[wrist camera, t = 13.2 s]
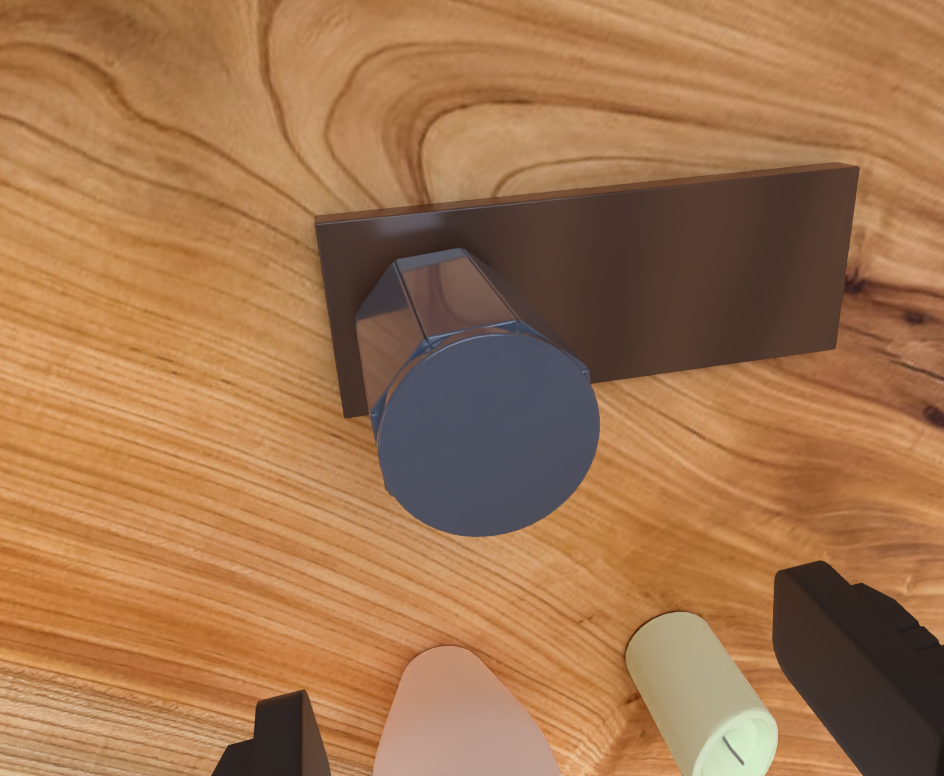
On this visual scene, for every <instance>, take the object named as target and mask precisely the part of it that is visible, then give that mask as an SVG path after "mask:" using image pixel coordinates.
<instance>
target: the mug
mask: <svg viewBox="0 0 944 776" xmlns="http://www.w3.org/2000/svg"><path fill="white" fill-rule="evenodd" d="M372 776H562V775H561V773H560V770H559V767H558V765H557V762H556V759H555V757H554V754H553V752H552V750H551V748H550V746H549V744H548V742H547V740H546V738H545V736H544V734H543V732H542V731H541V729H540V728H539V726H538V725H537V723H536V722H535V720H534V719H533V717H532V716H531V715H530V714H529V712H528V711H527V710H526V709H525V707H524V706H523V705H522V704H521V703H520V702H519V701H518V699H517V698H516V697H515V696H514V695H513V694H512V693H511V692H510V691H509V690H508V689H507V688H506V687H505V686H504V684H503V683H502V682H501V681H500V680H499V679H498V678H497V677H496V676H495V675H494V674H493V673H492V672H491V671H490V670H489V669H488V668H487V666H486V665H485V664H484V663H483V662H482V661H481V660H480V659H479V658H478V657H477V656H476V655H475V654H474V653H472V652H471V651H469V650H467V649H465V648H462V647H457V646H440V647H435V648H432V649H429V650H427V651H425V652H423V653H421V654H419V655H418V656H417V657H415V658H414V659H413V660H412V661H411V662H410V663H409V664H408V666H407V667H406V669H405V670H404V672H403V675H402V678H401V680H400V683H399V686H398V689H397V692H396V695H395V698H394V701H393V704H392V707H391V710H390V712H389V715H388V718H387V721H386V724H385V727H384V730H383V733H382V736H381V739H380V743H379V746H378V750H377V754H376V758H375V762H374V767H373V774H372Z"/></svg>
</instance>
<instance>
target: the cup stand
mask: <svg viewBox="0 0 944 776" xmlns="http://www.w3.org/2000/svg"><path fill="white" fill-rule="evenodd" d="M858 176H859V167H858V166H854V165H848V164H843V163H838V162H836V163H826V164H816V165H807V166H797V167H787V168H777V169H768V170H758V171H748V172H739V173H729V174H719V175H709V176H700V177H690V178H680V179H671V180H661V181H651V182H641V183H632V184H622V185H612V186H602V187H593V188H583V189H573V190H564V191H554V192H544V193H534V194H525V195H515V196H505V197H495V198H486V199H476V200H466V201H457V202H447V203H437V204H427V205H418V206H408V207H398V208H389V209H379V210H369V211H359V212H350V213H340V214H330V215H320V216H316V217H315V228H316V235H317V241H318V248H319V255H320V261H321V268H322V274H323V281H324V288H325V294H326V301H327V308H328V314H329V321H330V328H331V334H332V341H333V348H334V354H335V361H336V368H337V374H338V381H339V388H340V394H341V401H342V408H343V414H344V418H351V417H359V416H366V415H369V408H368V402H367V396H366V389H365V383H364V377H363V370H362V364H361V357H360V351H359V345H358V338H357V332H356V326H355V317H356V316H355V315H356V313H357V311H358V310H359V308H360V307H361V306H362V304H363V303H364V301H365V300H366V298H367V297H368V296H369V294H370V293H371V291H372V290H373V289H374V287H375V286H376V284H377V283H378V281H379V280H380V279H381V277H382V276H383V274H384V273H385V271H386V270H387V269H388V267H389V266H390V264H391V263H392V262H395V260H397V259H401V258H407V257H412V256H418V255H423V254H429V253H434V252H440V251H445V250H451V249H456V248H461V249H466V250H467V251H469V252H470V253H471V254H473V255H474V256H475V257H477V258H478V259H480V260H481V261H482V262H484V263H485V264H487V265H488V266H489V267H491V268H492V269H494V270H495V271H496V272H498V273H499V274H501V275H502V276H503V277H505V278H506V279H508V280H509V281H510V282H512V283H513V284H514V285H515V286H516V287H517V288H518V289H519V290H520V291H521V293H522V294H523V295H524V296H525V297H526V298H527V299H528V300H529V302H530V303H531V304H532V305H533V306H534V307H535V308H536V309H537V310H538V312H539V313H540V314H541V315H542V316H543V317H544V318H545V319H546V321H547V322H548V323H549V324H550V325H551V326H552V327H553V328H554V330H555V331H556V332H557V333H558V334H559V335H560V336H561V337H562V338H563V340H564V341H565V342H566V343H567V344H568V345H569V346H570V347H571V349H572V350H573V351H574V352H575V353H576V354H577V355H578V356H579V357H580V359H581V360H582V361H583V362H584V363H585V364H586V366H587V368H588V369H589V371H590V384H592V383H599V382H606V381H613V380H620V379H628V378H635V377H642V376H649V375H656V374H663V373H670V372H677V371H684V370H691V369H698V368H705V367H712V366H720V365H727V364H734V363H741V362H748V361H755V360H762V359H769V358H776V357H783V356H790V355H797V354H805V353H812V352H819V351H826V350H833V349H835V348H836V342H837V334H838V326H839V319H840V311H841V304H842V296H843V289H844V281H845V274H846V266H847V259H848V251H849V244H850V236H851V229H852V221H853V214H854V206H855V199H856V191H857V183H858Z"/></svg>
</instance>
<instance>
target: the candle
mask: <svg viewBox="0 0 944 776" xmlns="http://www.w3.org/2000/svg"><path fill="white" fill-rule="evenodd" d="M626 665H627V668H628V671H629V673H630V675H631V677H632V679H633V681H634V683H635V685H636V686H637V688H638V690H639V692H640V694H641V696H642V698H643V700H644V702H645V704H646V706H647V708H648V710H649V712H650V714H651V716H652V717H653V719H654V721H655V723H656V725H657V727H658V729H659V731H660V733H661V735H662V737H663V739H664V741H665V743H666V745H667V746H668V748H669V750H670V752H671V754H672V756H673V758H674V760H675V762H676V764H677V766H678V768H679V770H680V772H681V774H682V775H683V776H764V775H765V774H766V772H767V771H768V769H769V767H770V765H771V763H772V760H773V758H774V756H775V752H776V748H777V744H778V728H777V725H776V721H775V719H774V718H773V716H772V715H771V714H770V712H769V711H768V709H767V708H766V706H765V705H764V704H763V702H762V701H761V699H760V698H759V696H758V695H757V694H756V692H755V691H754V689H753V688H752V686H751V685H750V684H749V682H748V681H747V679H746V678H745V677H744V675H743V674H742V672H741V671H740V669H739V668H738V667H737V665H736V664H735V662H734V661H733V659H732V658H731V657H730V655H729V654H728V652H727V651H726V649H725V648H724V647H723V645H722V644H721V642H720V641H719V639H718V638H717V637H716V635H715V634H714V632H713V631H712V630H711V628H710V627H709V625H708V624H707V623H706V621H705V620H704V619H702V618H701V617H699V616H698V615H695V614H692V613H689V612H673V613H668V614H664V615H661V616H659V617H657V618H654V619H652V620H651V621H649V622H648V623H646V624H645V625H643V626H642V627H641V628H640V629H639V630H638V631H637V632H636V634H635V635H634V636H633V638H632V639H631V641H630V643H629V645H628V648H627V651H626Z"/></svg>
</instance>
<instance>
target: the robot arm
mask: <svg viewBox="0 0 944 776" xmlns="http://www.w3.org/2000/svg"><path fill="white" fill-rule="evenodd" d="M772 640H773V647H774V651H775V655H776V658H777V660H778V663H779V665H780V667H781V669H782V671H783V672H784V674H785V676H786V677H787V678H788V680H789V681H790V682H791V683H792V685H793V686H794V687H795V689H796V690H797V691H798V692H799V694H800V695H801V696H802V698H803V699H804V700H805V701H806V703H807V704H808V705H809V707H810V708H811V709H812V710H813V712H814V713H815V714H816V716H817V717H818V718H819V719H820V721H821V722H822V723H823V725H824V726H825V727H826V728H827V730H828V731H829V732H830V734H831V735H832V736H833V737H834V739H835V740H836V741H837V743H838V744H839V745H840V746H841V748H842V749H843V750H844V752H845V753H846V754H847V755H848V757H849V758H850V759H851V761H852V762H853V763H854V764H855V766H856V767H857V768H858V770H859V771H860V772H861V773H862V775H863V776H944V645H940V644H939V640H938V639H937V638H936V637H935V636H934V635H932V634H931V633H930V632H929V631H928V630H927V629H926V628H925V627H924V626H922V627H921V626H920V625H919V623H918V621H917V620H916V619H915V618H914V617H913V616H912V615H911V614H910V613H908V612H907V611H906V610H905V609H904V608H903V607H902V606H901V605H900V604H899V603H898V602H896V601H895V600H894V599H893V598H891V597H889V596H887V595H885V594H883V593H881V592H879V591H877V590H875V589H873V588H871V587H869V586H867V585H865V584H863V583H859V584H855V585H850V584H849V583H848V582H847V581H846V580H845V579H844V578H843V577H842V576H841V575H840V574H839V573H838V572H836V571H835V570H834V569H833V568H832V567H831V566H830V565H829V564H828V563H826V562H824V561H815V562H811V563H807V564H803V565H799V566H795V567H791V568H787V569H784V570H780V571H778V572H777V573H776V575H775V580H774V605H773V634H772ZM211 776H331V773H330V768H329V763H328V759H327V755H326V751H325V748H324V745H323V742H322V738H321V735H320V732H319V729H318V725H317V722H316V719H315V716H314V712H313V709H312V706H311V703H310V699H309V696H308V694H307V692H306V690H305V689H304V690H300V691H296V692H292V693H288V694H284V695H280V696H276V697H272V698H268V699H264V700H260V701H258V703H257V706H256V713H255V726H254V739H250V740H246V741H243V742H239V743H235V744H231V745H228V746H227V748H226V750H225V751H224V753H223V755H222V757H221V759H220V761H219V763H218V764H217V766H216V768H215V770H214V772H213V774H212V775H211Z"/></svg>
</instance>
